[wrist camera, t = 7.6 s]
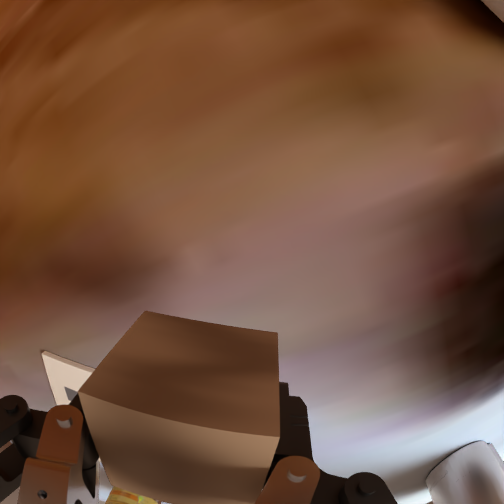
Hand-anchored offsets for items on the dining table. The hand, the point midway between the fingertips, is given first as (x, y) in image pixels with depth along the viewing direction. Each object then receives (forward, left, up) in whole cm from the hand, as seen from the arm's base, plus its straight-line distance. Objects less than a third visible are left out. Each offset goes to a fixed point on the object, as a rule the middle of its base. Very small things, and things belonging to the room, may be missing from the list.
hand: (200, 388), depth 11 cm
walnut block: (0, 0, -1) cm, 1 cm away
